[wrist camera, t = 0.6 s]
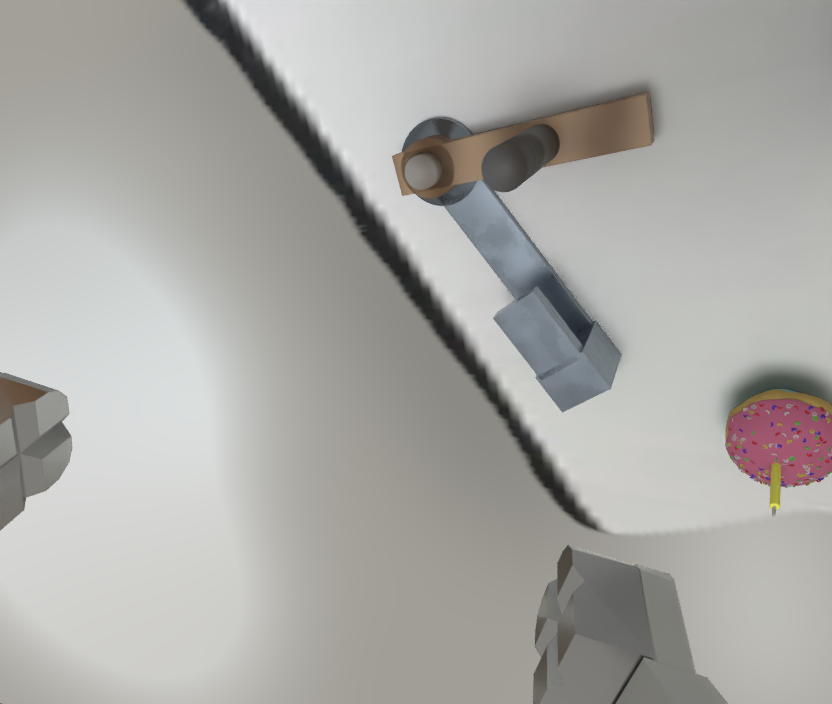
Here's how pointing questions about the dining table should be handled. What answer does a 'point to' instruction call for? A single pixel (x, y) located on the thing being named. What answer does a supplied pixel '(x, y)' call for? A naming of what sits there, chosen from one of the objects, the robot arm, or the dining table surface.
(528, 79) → the dining table surface
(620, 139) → the walnut link
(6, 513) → the robot arm
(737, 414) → the cupcake
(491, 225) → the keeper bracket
